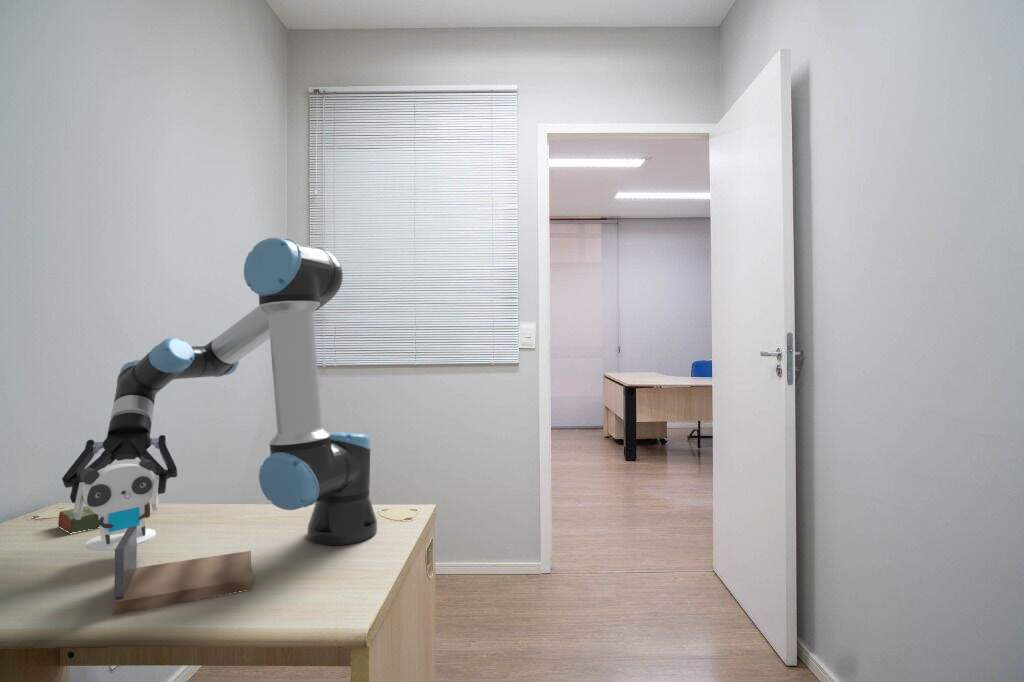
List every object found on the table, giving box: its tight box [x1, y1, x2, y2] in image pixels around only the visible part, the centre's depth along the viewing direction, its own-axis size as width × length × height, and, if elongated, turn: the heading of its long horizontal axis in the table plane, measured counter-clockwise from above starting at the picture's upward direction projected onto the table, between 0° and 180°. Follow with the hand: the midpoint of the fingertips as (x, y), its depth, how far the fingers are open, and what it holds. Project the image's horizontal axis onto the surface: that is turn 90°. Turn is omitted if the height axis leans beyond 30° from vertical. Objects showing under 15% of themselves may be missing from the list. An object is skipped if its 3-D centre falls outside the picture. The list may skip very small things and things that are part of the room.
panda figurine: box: [80, 459, 157, 552], centre depth 107 cm, size 12×11×15 cm
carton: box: [57, 501, 151, 533], centre depth 130 cm, size 8×16×4 cm, turn 144°
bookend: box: [113, 526, 138, 601], centre depth 93 cm, size 1×12×8 cm, turn 26°
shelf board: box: [112, 550, 253, 616], centre depth 97 cm, size 20×14×2 cm
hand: (116, 511), depth 104 cm, fingers closed on panda figurine, 11 cm apart
